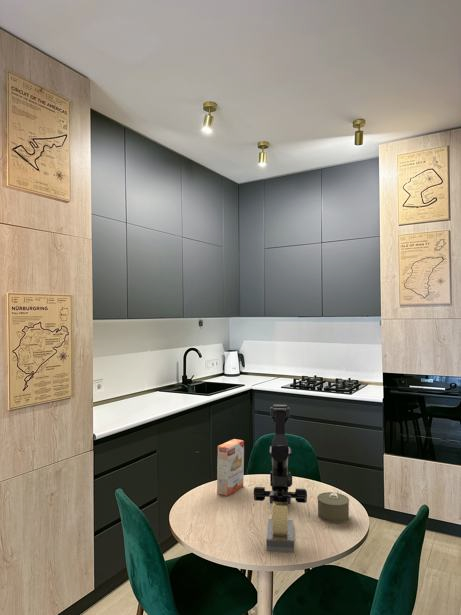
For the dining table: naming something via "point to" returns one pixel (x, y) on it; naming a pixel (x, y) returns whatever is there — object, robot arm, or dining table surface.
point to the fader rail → (280, 544)
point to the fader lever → (280, 521)
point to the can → (333, 507)
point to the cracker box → (230, 467)
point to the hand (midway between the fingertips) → (280, 519)
